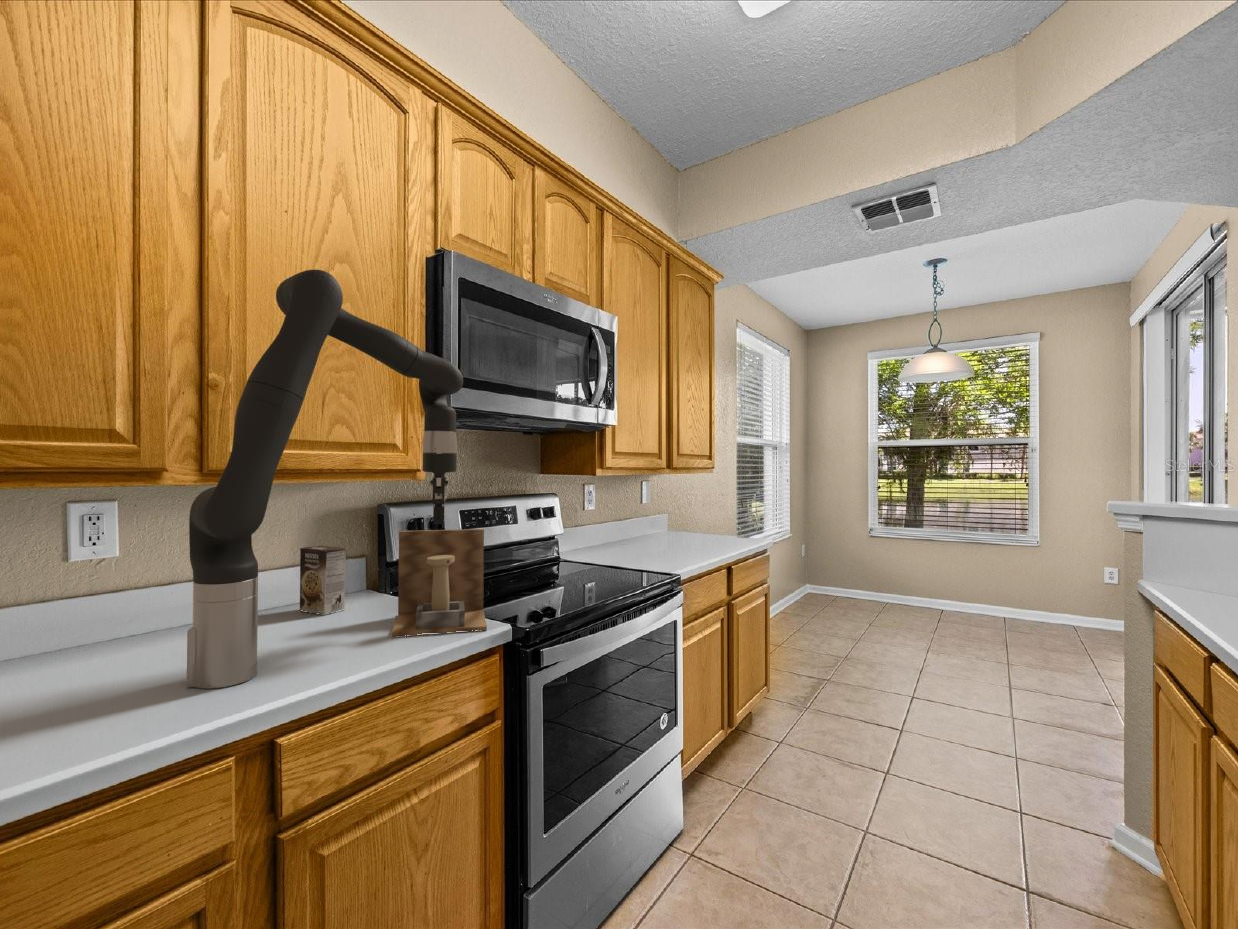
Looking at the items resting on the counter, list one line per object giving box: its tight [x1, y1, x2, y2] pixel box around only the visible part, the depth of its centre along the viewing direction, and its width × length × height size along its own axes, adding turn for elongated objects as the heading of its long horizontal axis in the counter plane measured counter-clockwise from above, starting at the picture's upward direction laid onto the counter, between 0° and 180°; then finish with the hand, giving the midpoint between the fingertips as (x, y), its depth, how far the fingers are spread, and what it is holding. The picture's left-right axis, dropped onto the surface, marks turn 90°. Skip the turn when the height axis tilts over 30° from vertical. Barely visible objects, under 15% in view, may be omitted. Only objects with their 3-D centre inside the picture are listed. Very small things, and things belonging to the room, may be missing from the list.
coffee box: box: [299, 544, 347, 616], centre depth 144 cm, size 9×6×16 cm
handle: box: [427, 555, 455, 611], centre depth 131 cm, size 5×6×15 cm
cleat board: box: [391, 528, 488, 638], centre depth 134 cm, size 20×19×21 cm
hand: (438, 522), depth 131 cm, fingers open, 8 cm apart
